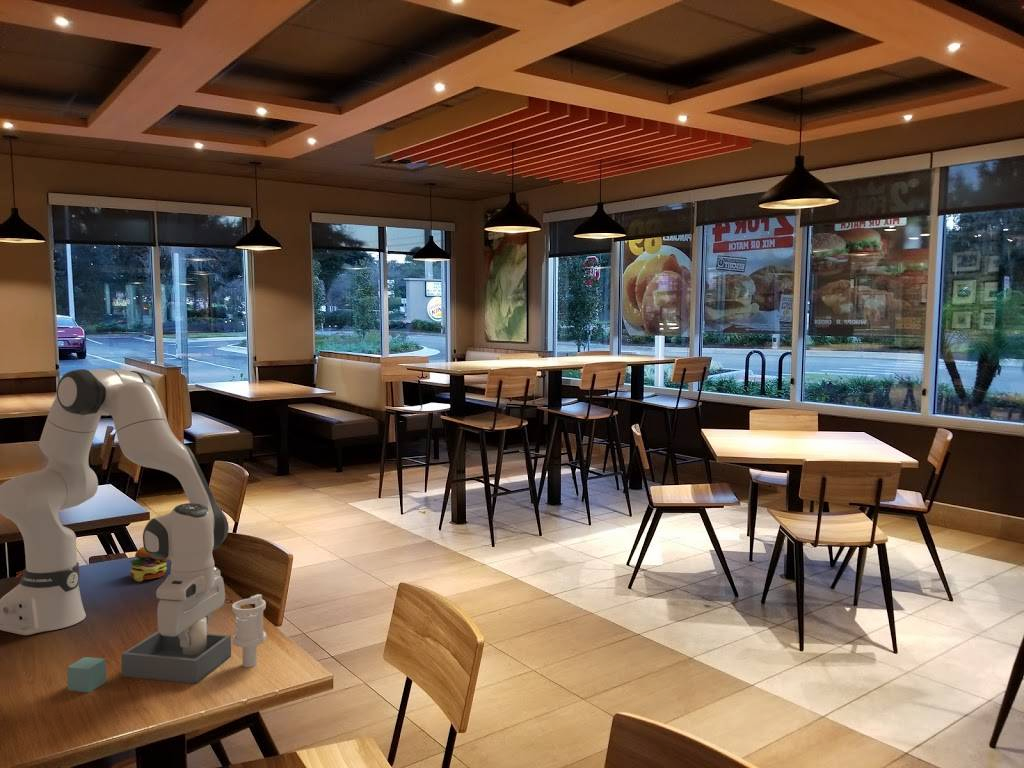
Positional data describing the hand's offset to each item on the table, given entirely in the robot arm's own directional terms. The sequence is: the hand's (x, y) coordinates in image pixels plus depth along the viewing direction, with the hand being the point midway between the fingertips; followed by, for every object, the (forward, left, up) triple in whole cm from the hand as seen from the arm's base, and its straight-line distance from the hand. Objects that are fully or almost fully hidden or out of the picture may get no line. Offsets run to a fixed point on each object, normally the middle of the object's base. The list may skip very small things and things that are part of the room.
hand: (194, 640), depth 169 cm
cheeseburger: (-49, +53, -6) cm, 73 cm away
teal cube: (-17, -12, -6) cm, 22 cm away
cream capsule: (0, 0, -2) cm, 2 cm away
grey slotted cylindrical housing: (+11, +4, -6) cm, 13 cm away
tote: (-4, 0, -6) cm, 7 cm away
